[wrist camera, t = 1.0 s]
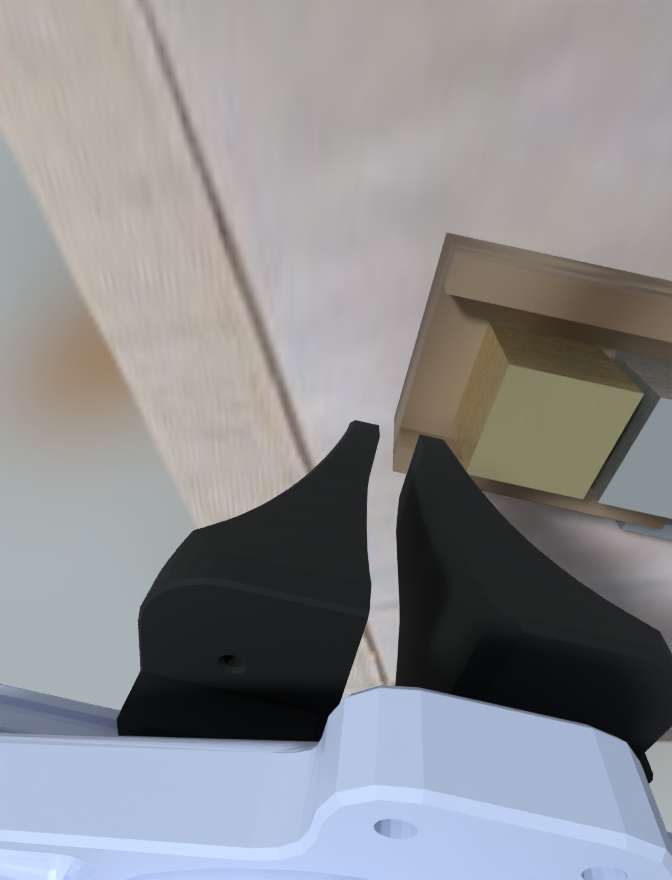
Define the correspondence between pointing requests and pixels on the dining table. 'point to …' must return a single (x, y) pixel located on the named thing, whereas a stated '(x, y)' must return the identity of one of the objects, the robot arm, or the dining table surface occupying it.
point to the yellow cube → (542, 410)
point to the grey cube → (641, 442)
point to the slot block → (530, 308)
